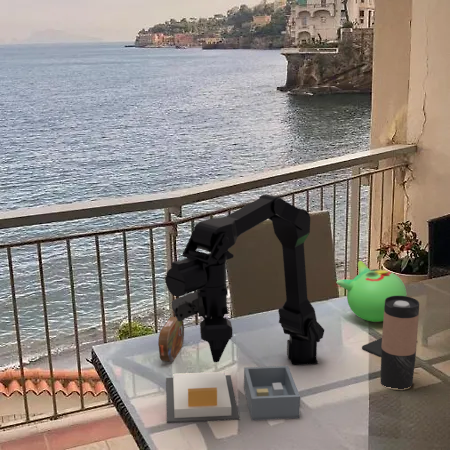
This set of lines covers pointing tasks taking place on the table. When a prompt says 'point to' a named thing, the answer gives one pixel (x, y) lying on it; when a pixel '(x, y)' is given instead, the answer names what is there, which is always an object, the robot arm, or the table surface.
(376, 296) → the toy bird
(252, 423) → the table surface
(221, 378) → the lid
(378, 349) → the phone
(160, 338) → the tin
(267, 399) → the parts tub
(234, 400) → the mat
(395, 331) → the travel mug
